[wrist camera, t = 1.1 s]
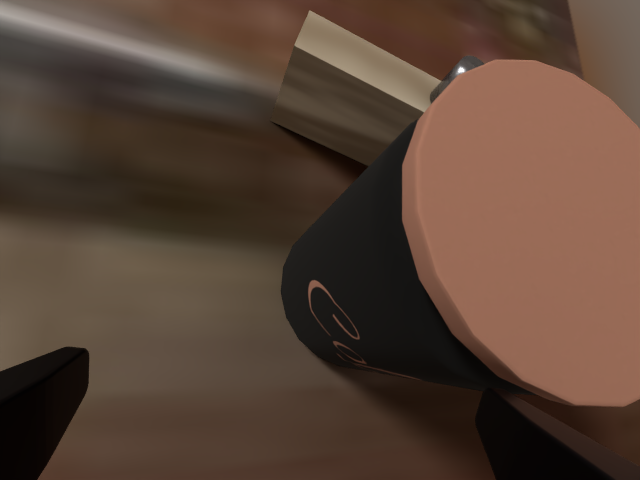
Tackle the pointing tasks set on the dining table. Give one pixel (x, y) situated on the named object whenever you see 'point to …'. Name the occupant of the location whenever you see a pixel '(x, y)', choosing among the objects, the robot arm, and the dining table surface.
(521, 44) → the dining table surface
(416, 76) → the bench stop
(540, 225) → the coffee jar
